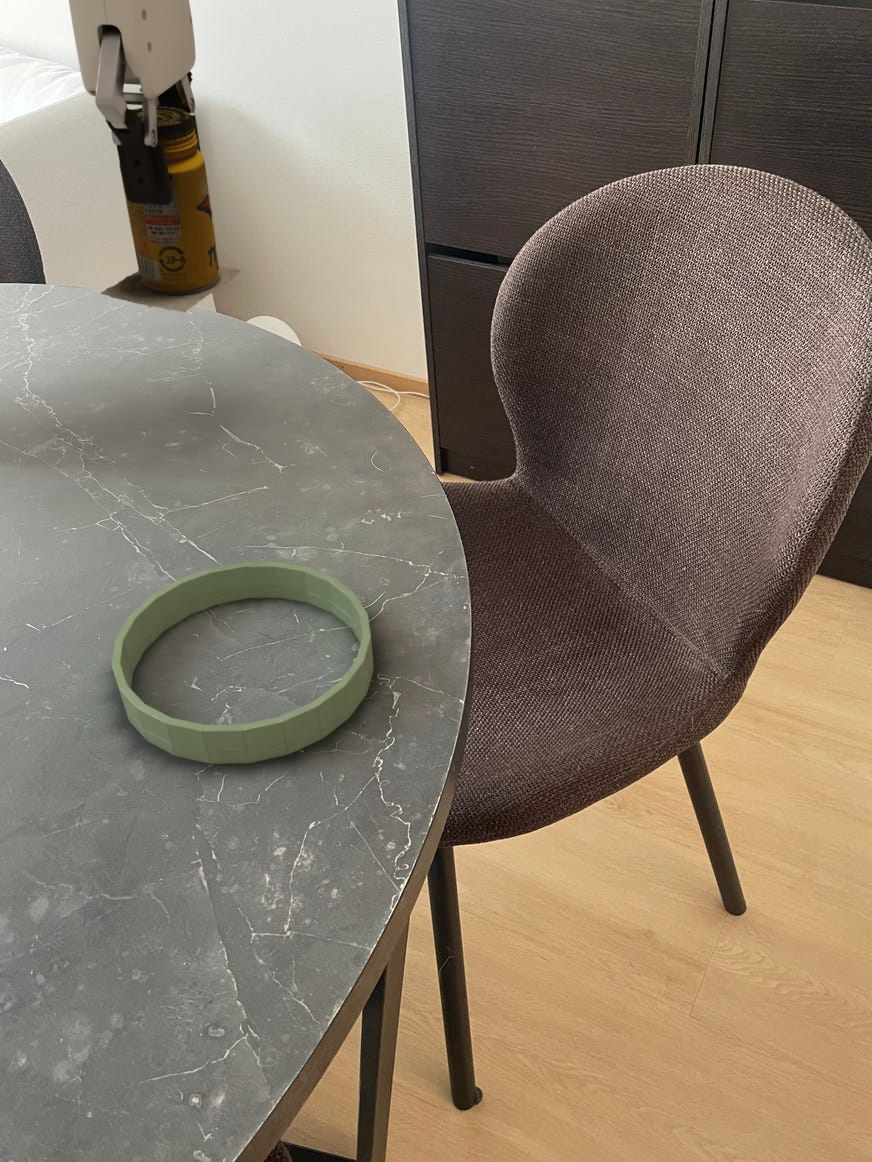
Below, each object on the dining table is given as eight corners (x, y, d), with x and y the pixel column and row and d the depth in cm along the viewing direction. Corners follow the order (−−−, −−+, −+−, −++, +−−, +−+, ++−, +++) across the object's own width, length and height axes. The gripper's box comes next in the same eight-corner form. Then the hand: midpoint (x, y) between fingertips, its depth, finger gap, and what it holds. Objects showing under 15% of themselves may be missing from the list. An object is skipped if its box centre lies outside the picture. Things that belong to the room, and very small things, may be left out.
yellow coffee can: (242, 272, 83) (222, 109, 75) (185, 314, 77) (157, 142, 69) (162, 257, 85) (135, 96, 77) (100, 297, 79) (63, 127, 71)
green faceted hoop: (87, 767, 59) (69, 718, 57) (176, 599, 71) (165, 552, 68) (345, 792, 58) (338, 743, 55) (394, 617, 69) (391, 570, 67)
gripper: (109, -131, 71) (157, 148, 83) (-7, -98, 59) (70, 225, 71) (216, -126, 71) (249, 153, 83) (122, -93, 58) (177, 233, 70)
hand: (166, 184), depth 77 cm, fingers closed on yellow coffee can, 6 cm apart
